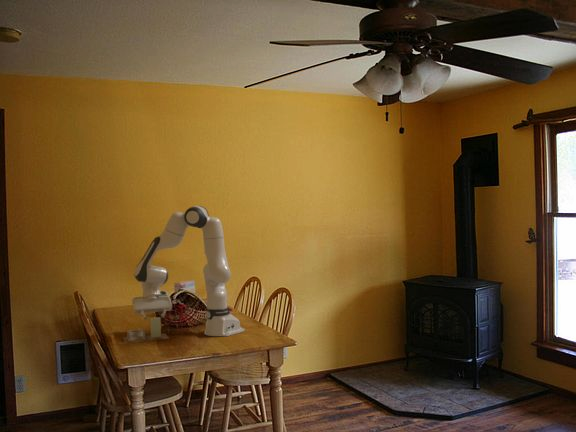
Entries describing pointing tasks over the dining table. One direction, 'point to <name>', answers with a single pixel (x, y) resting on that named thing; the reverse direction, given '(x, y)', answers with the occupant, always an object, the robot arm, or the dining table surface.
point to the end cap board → (141, 336)
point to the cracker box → (185, 286)
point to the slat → (155, 327)
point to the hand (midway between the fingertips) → (154, 317)
